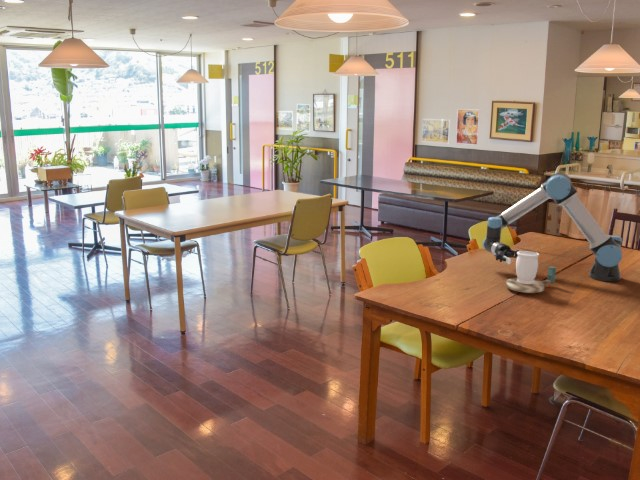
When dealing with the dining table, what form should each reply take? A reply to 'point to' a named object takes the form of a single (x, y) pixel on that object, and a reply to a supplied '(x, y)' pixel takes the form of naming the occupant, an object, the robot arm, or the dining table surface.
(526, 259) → the jar
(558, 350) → the dining table surface
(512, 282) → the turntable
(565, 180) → the robot arm
